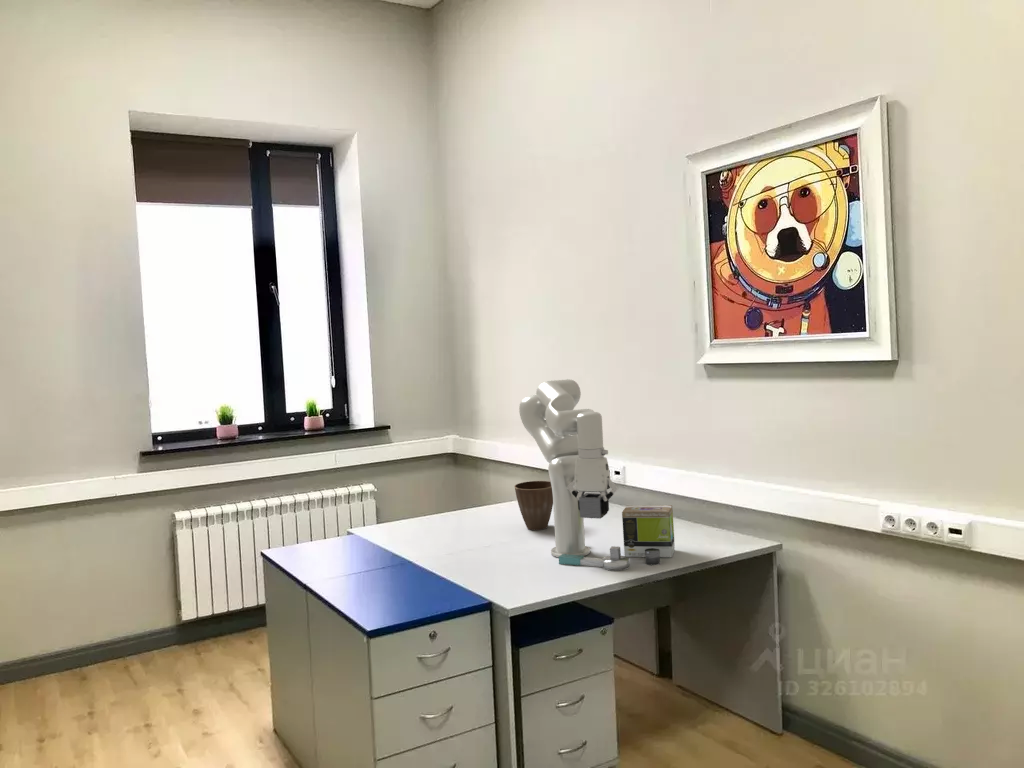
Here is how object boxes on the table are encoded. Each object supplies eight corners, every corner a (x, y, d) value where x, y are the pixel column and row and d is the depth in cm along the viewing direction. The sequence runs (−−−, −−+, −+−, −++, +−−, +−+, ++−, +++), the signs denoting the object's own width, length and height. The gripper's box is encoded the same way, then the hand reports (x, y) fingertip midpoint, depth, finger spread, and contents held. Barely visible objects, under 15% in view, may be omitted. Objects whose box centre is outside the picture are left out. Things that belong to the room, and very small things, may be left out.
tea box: (675, 549, 268) (673, 504, 267) (672, 558, 258) (670, 511, 257) (628, 548, 272) (626, 503, 271) (623, 557, 263) (621, 511, 261)
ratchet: (632, 564, 255) (631, 545, 254) (624, 571, 247) (623, 552, 247) (565, 558, 264) (564, 540, 264) (556, 566, 257) (555, 547, 257)
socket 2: (647, 560, 258) (646, 547, 257) (661, 561, 256) (660, 548, 256) (644, 564, 254) (643, 551, 253) (658, 565, 252) (657, 552, 252)
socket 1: (586, 512, 254) (586, 493, 253) (607, 513, 251) (606, 493, 251) (580, 517, 248) (579, 497, 247) (600, 518, 245) (599, 498, 245)
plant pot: (558, 531, 299) (555, 487, 298) (516, 534, 299) (514, 490, 298) (556, 521, 314) (554, 479, 312) (517, 524, 314) (514, 482, 313)
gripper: (622, 451, 248) (625, 511, 249) (567, 451, 255) (570, 509, 256) (615, 456, 241) (618, 517, 243) (559, 455, 248) (562, 514, 250)
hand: (593, 512), depth 249 cm, fingers closed on socket 1, 6 cm apart
